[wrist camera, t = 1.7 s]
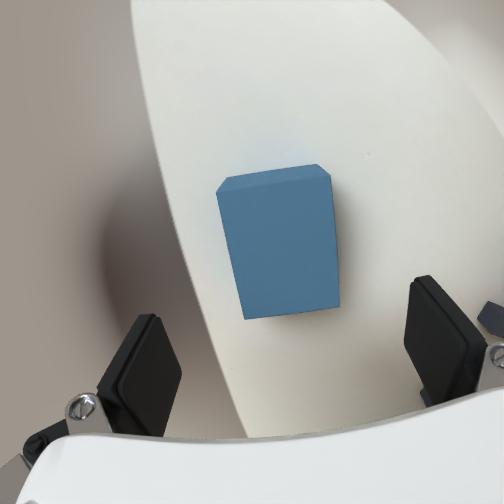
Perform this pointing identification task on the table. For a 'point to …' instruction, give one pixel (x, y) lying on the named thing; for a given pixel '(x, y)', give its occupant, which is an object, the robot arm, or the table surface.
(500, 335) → the dark grey u-frame
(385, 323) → the table surface
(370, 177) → the table surface
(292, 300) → the blue rectangular block
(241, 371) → the table surface
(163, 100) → the table surface
